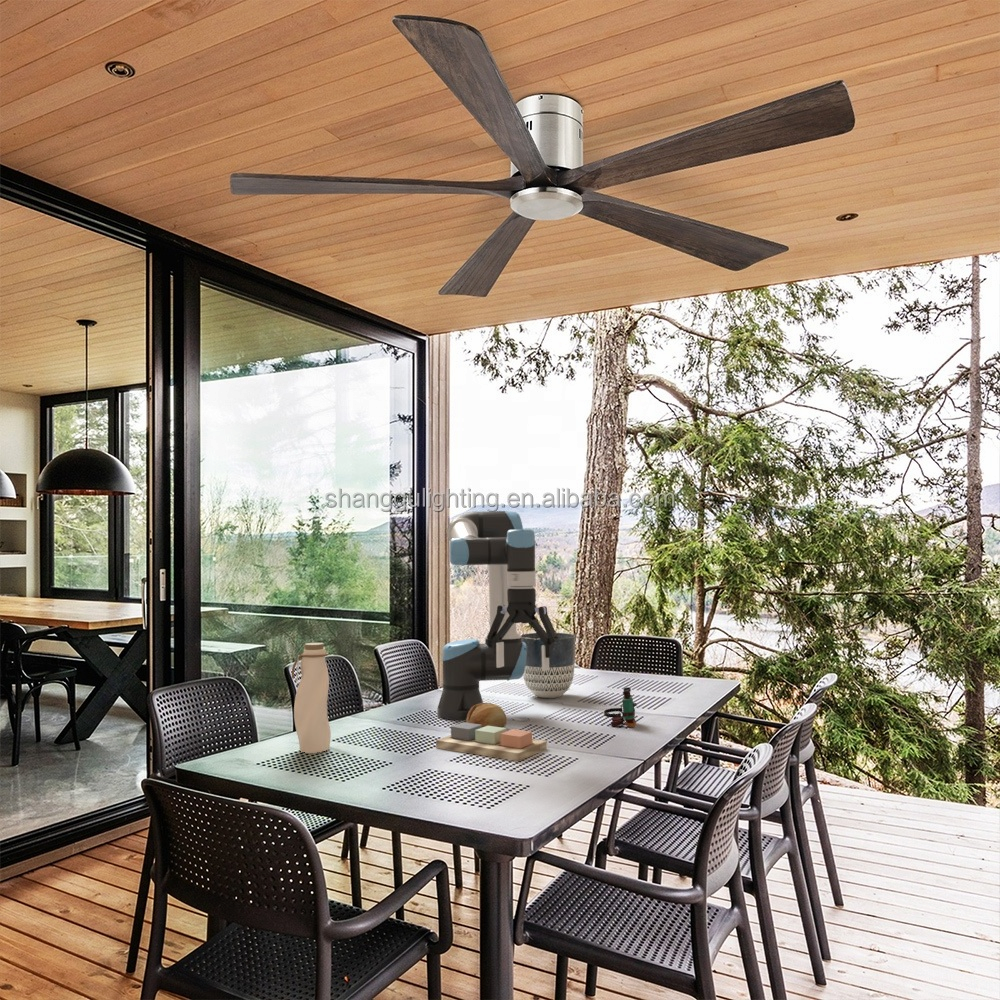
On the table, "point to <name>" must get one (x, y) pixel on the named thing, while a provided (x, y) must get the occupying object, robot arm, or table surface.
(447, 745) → the board
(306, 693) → the water bottle
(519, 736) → the terracotta tile
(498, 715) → the bread roll
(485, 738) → the sage tile
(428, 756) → the table surface
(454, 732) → the charcoal tile
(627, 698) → the binoculars
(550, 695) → the planter
